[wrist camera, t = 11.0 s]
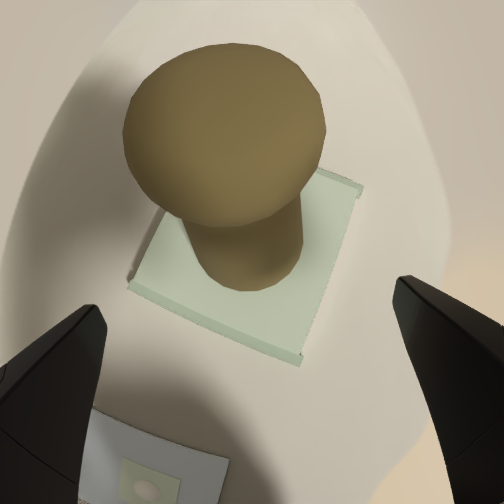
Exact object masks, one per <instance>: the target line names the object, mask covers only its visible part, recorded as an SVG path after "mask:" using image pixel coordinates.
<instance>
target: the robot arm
mask: <svg viewBox="0 0 504 504" xmlns="http://www.w3.org/2000/svg"><path fill="white" fill-rule="evenodd" d="M392 303H393V308H394V311H395V314H396V318H397V321H398V324H399V327H400V330H401V334H402V337H403V340H404V344H405V347H406V350H407V352H408V355H409V357H410V360H411V362H412V365H413V367H414V370H415V373H416V375H417V378H418V380H419V383H420V386H421V388H422V391H423V394H424V397H425V400H426V402H427V405H428V408H429V411H430V414H431V417H432V420H433V423H434V426H435V430H436V433H437V436H438V439H439V442H440V446H441V449H442V453H443V456H444V461H445V464H446V468H447V473H448V477H449V481H450V485H451V489H452V494H453V499H454V503H455V504H504V326H503V325H502V326H501V325H500V324H499V323H497V322H495V321H494V320H492V319H491V318H488V317H487V316H485V315H483V314H482V313H480V312H478V311H477V310H475V309H473V308H471V307H469V306H468V305H466V304H464V303H462V302H460V301H459V300H457V299H455V298H453V297H451V296H449V295H448V294H446V293H444V292H442V291H440V290H438V289H436V288H434V287H433V286H431V285H429V284H427V283H425V282H423V281H421V280H419V279H417V278H415V277H413V276H411V275H406V276H400V277H398V278H397V281H396V285H395V290H394V295H393V300H392ZM106 336H107V324H106V322H105V320H104V318H103V316H102V314H101V312H100V310H99V308H98V306H97V305H95V304H87V305H83V306H82V307H81V308H79V309H78V310H76V311H75V312H74V313H72V314H71V315H69V316H68V317H67V318H65V319H64V320H62V321H61V322H60V323H58V324H57V325H56V326H54V327H53V328H52V329H50V330H49V331H48V332H46V333H45V334H44V335H42V336H41V337H40V338H38V339H37V340H36V341H34V342H33V343H32V344H30V345H29V346H28V347H26V348H25V349H24V350H23V351H21V352H20V353H19V354H17V355H16V356H15V357H14V358H12V359H11V360H10V361H8V363H6V364H5V365H3V366H2V367H1V368H0V504H77V503H78V492H79V482H80V474H81V466H82V459H83V453H84V447H85V441H86V435H87V430H88V425H89V420H90V415H91V410H92V405H93V401H94V397H95V392H96V388H97V384H98V380H99V376H100V371H101V366H102V359H103V353H104V347H105V342H106Z"/></svg>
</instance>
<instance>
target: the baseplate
mask: <svg viewBox="0 0 504 504" xmlns="http://www.w3.org/2000/svg"><path fill="white" fill-rule="evenodd" d="M363 187H364V186H363V185H361V184H358V183H356V182H353V181H351V180H348V179H346V178H343V177H341V176H338V175H336V174H333V173H330V172H328V171H325V170H323V169H320V168H317V170H316V171H315V172H314V174H313V175H312V177H311V178H310V180H309V181H308V182H307V184H306V185H305V187H304V188H303V189H302V191H301V192H300V198H301V211H302V226H303V242H304V243H303V247H302V251H301V254H300V258H299V260H298V262H297V263H296V265H295V266H294V268H293V269H292V271H291V272H290V274H289V275H287V276H286V277H285V278H284V279H282V280H281V281H280V282H278V283H277V284H276V285H274V286H271V287H268V288H265V289H262V290H260V291H237V290H233V289H230V288H227V287H223V286H222V285H220V284H219V283H217V282H216V281H215V280H213V279H212V278H210V277H209V276H208V275H207V273H206V272H205V271H204V269H203V268H202V266H201V265H200V264H199V262H198V259H197V257H196V254H195V252H194V250H193V247H192V245H191V242H190V240H189V237H188V234H187V232H186V229H185V227H184V224H183V222H182V219H180V218H177V217H175V216H173V215H172V214H170V213H169V212H167V211H166V213H165V215H164V217H163V218H162V220H161V222H160V224H159V226H158V228H157V230H156V232H155V234H154V236H153V238H152V240H151V242H150V245H149V247H148V249H147V251H146V253H145V255H144V257H143V259H142V261H141V263H140V266H139V268H138V270H137V272H136V274H135V277H134V279H133V280H132V279H131V280H130V283H129V285H128V287H127V289H129V290H131V291H133V292H134V293H136V294H138V295H140V296H142V297H144V298H146V299H148V300H150V301H151V302H153V303H155V304H157V305H159V306H161V307H163V308H165V309H167V310H169V311H171V312H173V313H175V314H177V315H179V316H181V317H183V318H185V319H188V320H190V321H192V322H194V323H196V324H198V325H200V326H202V327H205V328H207V329H209V330H211V331H213V332H215V333H218V334H220V335H222V336H224V337H227V338H229V339H231V340H233V341H236V342H238V343H240V344H243V345H245V346H247V347H250V348H252V349H255V350H257V351H259V352H262V353H264V354H267V355H269V356H272V357H274V358H277V359H279V360H282V361H285V362H287V363H290V364H292V365H295V366H298V367H300V364H301V362H302V360H303V357H304V356H302V355H300V352H301V350H302V347H303V345H304V343H305V340H306V338H307V335H308V333H309V331H310V328H311V326H312V323H313V321H314V318H315V316H316V313H317V310H318V308H319V305H320V303H321V300H322V297H323V295H324V292H325V289H326V287H327V284H328V281H329V278H330V276H331V273H332V270H333V267H334V264H335V262H336V259H337V256H338V253H339V250H340V247H341V244H342V241H343V238H344V235H345V232H346V229H347V226H348V223H349V219H350V216H351V213H352V210H353V206H354V203H355V200H356V198H358V199H359V197H360V196H361V194H362V191H363Z"/></svg>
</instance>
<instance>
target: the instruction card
mask: <svg viewBox="0 0 504 504" xmlns="http://www.w3.org/2000/svg"><path fill="white" fill-rule="evenodd" d="M229 460H230V459H228V458H224V457H220V456H216V455H212V454H209V453H205V452H202V451H198V450H195V449H192V448H188V447H185V446H182V445H179V444H176V443H173V442H170V441H168V440H165V439H162V438H159V437H157V436H154V435H151V434H149V433H146V432H144V431H141V430H139V429H137V428H134V427H132V426H129V425H127V424H125V423H123V422H120V421H118V420H116V419H114V418H112V417H110V416H108V415H105V414H103V413H101V412H99V411H97V410H95V409H93V408H92V410H91V415H90V420H89V425H88V430H87V435H86V441H85V447H84V453H83V459H82V466H81V474H80V482H79V492H78V497H79V498H81V499H82V500H84V501H86V502H88V503H89V504H217V503H218V500H219V496H220V493H221V489H222V486H223V482H224V478H225V475H226V471H227V468H228V464H229Z"/></svg>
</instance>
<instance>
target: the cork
mask: <svg viewBox="0 0 504 504" xmlns="http://www.w3.org/2000/svg"><path fill="white" fill-rule="evenodd" d="M325 135H326V125H325V118H324V113H323V108H322V104H321V99H320V95H319V93H318V92H317V90H316V89H315V87H314V86H313V85H312V83H311V82H310V80H309V79H308V78H307V76H306V75H305V74H304V72H303V71H302V70H301V68H300V67H299V66H298V65H297V64H296V63H294V62H293V61H291V60H290V59H288V58H287V57H285V56H284V55H282V54H281V53H278V52H276V51H273V50H270V49H267V48H264V47H261V46H257V45H248V44H238V43H229V44H218V45H210V46H205V47H202V48H198V49H195V50H192V51H188V52H185V53H183V54H181V55H179V56H177V57H175V58H173V59H172V60H170V61H168V62H166V63H164V64H163V65H161V66H160V67H159V68H158V69H156V70H155V71H154V72H153V73H152V74H151V75H149V76H148V77H147V78H146V79H145V80H144V81H143V82H142V84H141V85H140V87H139V88H138V89H137V91H136V92H135V94H134V95H133V97H132V98H131V101H130V104H129V108H128V111H127V114H126V118H125V123H124V128H123V141H124V150H125V156H126V160H127V163H128V166H129V169H130V171H131V173H132V174H133V176H134V177H135V179H136V181H137V182H138V184H139V185H140V187H141V189H142V190H143V192H144V193H145V194H146V195H147V196H148V197H149V198H150V199H151V200H152V201H153V202H154V203H156V204H157V205H159V206H160V207H162V208H163V209H165V210H166V211H167V212H169V213H170V214H172V215H173V216H175V217H177V218H180V219H182V222H183V224H184V227H185V229H186V232H187V234H188V237H189V240H190V242H191V245H192V247H193V250H194V252H195V254H196V257H197V259H198V262H199V264H200V265H201V266H202V268H203V269H204V271H205V272H206V273H207V275H208V276H209V277H210V278H212V279H213V280H215V281H216V282H217V283H219V284H220V285H222V286H223V287H227V288H230V289H233V290H237V291H260V290H262V289H265V288H268V287H271V286H274V285H276V284H277V283H278V282H280V281H281V280H282V279H284V278H285V277H286V276H287V275H289V274H290V272H291V271H292V269H293V268H294V266H295V265H296V263H297V262H298V260H299V258H300V254H301V251H302V247H303V243H304V242H303V226H302V211H301V198H300V192H301V191H302V189H303V188H304V187H305V185H306V184H307V182H308V181H309V180H310V178H311V177H312V175H313V174H314V172H315V171H316V170H317V167H318V163H319V160H320V157H321V153H322V148H323V144H324V139H325Z"/></svg>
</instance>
